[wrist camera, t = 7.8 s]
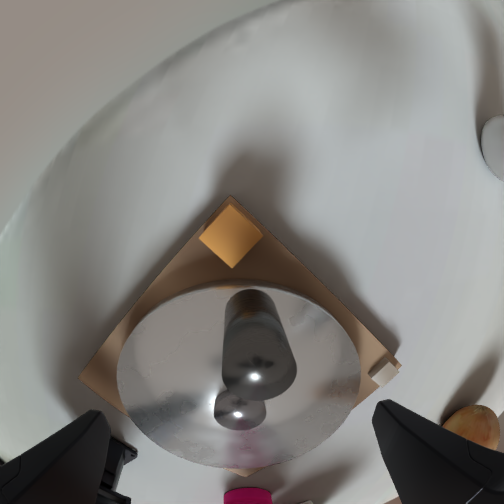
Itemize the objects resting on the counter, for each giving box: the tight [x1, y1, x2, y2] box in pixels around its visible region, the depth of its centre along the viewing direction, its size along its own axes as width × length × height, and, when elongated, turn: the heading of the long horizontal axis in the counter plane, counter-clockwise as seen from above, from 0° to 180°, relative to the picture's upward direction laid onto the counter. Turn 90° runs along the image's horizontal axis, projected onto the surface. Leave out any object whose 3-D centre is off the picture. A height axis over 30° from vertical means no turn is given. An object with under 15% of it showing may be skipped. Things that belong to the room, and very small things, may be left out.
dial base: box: [78, 195, 402, 477], centre depth 19 cm, size 20×20×4 cm
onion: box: [442, 405, 500, 450], centre depth 21 cm, size 10×10×10 cm
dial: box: [117, 279, 361, 469], centre depth 16 cm, size 18×18×8 cm
